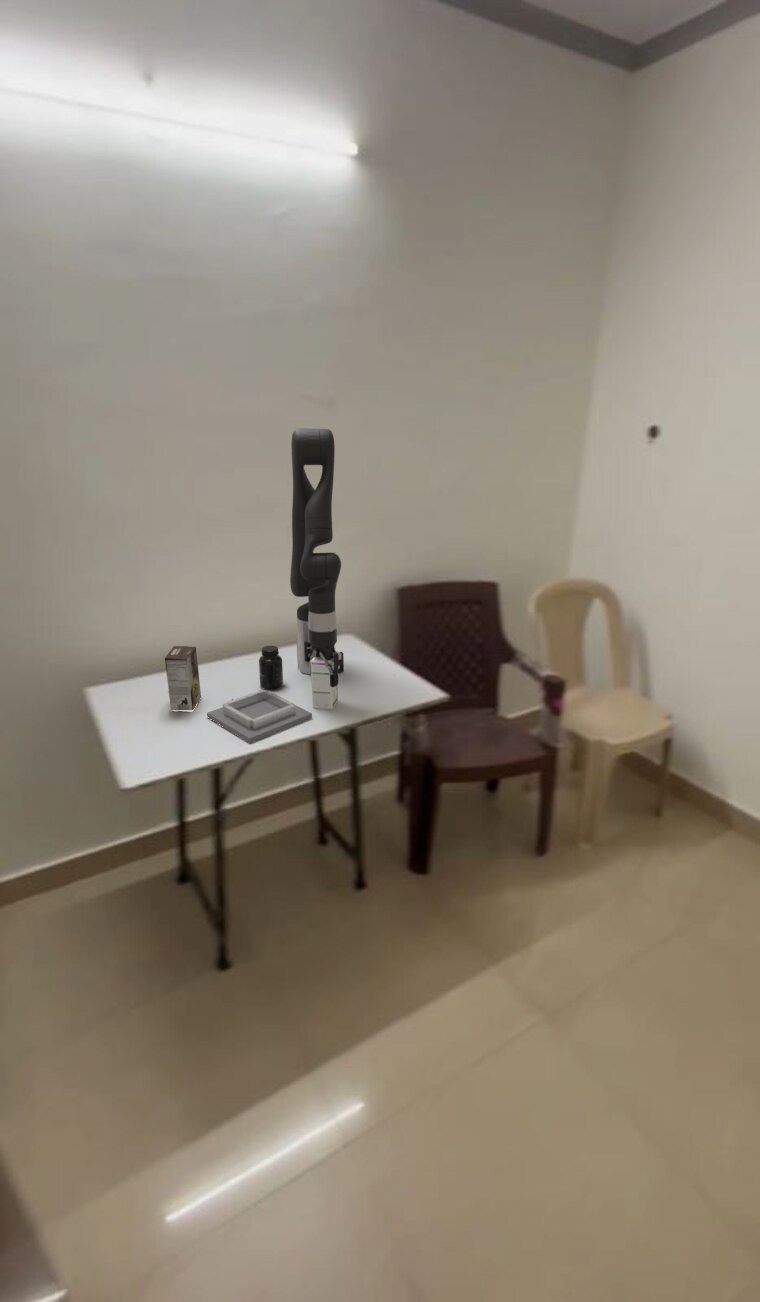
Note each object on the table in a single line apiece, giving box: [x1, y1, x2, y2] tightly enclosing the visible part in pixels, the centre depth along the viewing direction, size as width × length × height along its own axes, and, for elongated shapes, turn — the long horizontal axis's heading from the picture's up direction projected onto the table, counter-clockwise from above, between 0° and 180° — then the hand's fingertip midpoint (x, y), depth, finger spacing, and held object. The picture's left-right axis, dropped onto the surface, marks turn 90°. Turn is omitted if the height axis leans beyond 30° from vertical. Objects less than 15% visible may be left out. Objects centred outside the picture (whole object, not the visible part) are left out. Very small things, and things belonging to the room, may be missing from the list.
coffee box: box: [164, 645, 202, 711], centre depth 200 cm, size 9×6×16 cm
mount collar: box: [222, 689, 296, 730], centre depth 195 cm, size 14×14×2 cm
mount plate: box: [206, 700, 313, 744], centre depth 196 cm, size 20×20×2 cm
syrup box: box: [310, 657, 339, 710], centre depth 201 cm, size 6×6×14 cm
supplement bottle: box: [258, 645, 284, 691], centre depth 213 cm, size 7×7×12 cm
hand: (324, 681), depth 201 cm, fingers closed on syrup box, 7 cm apart
